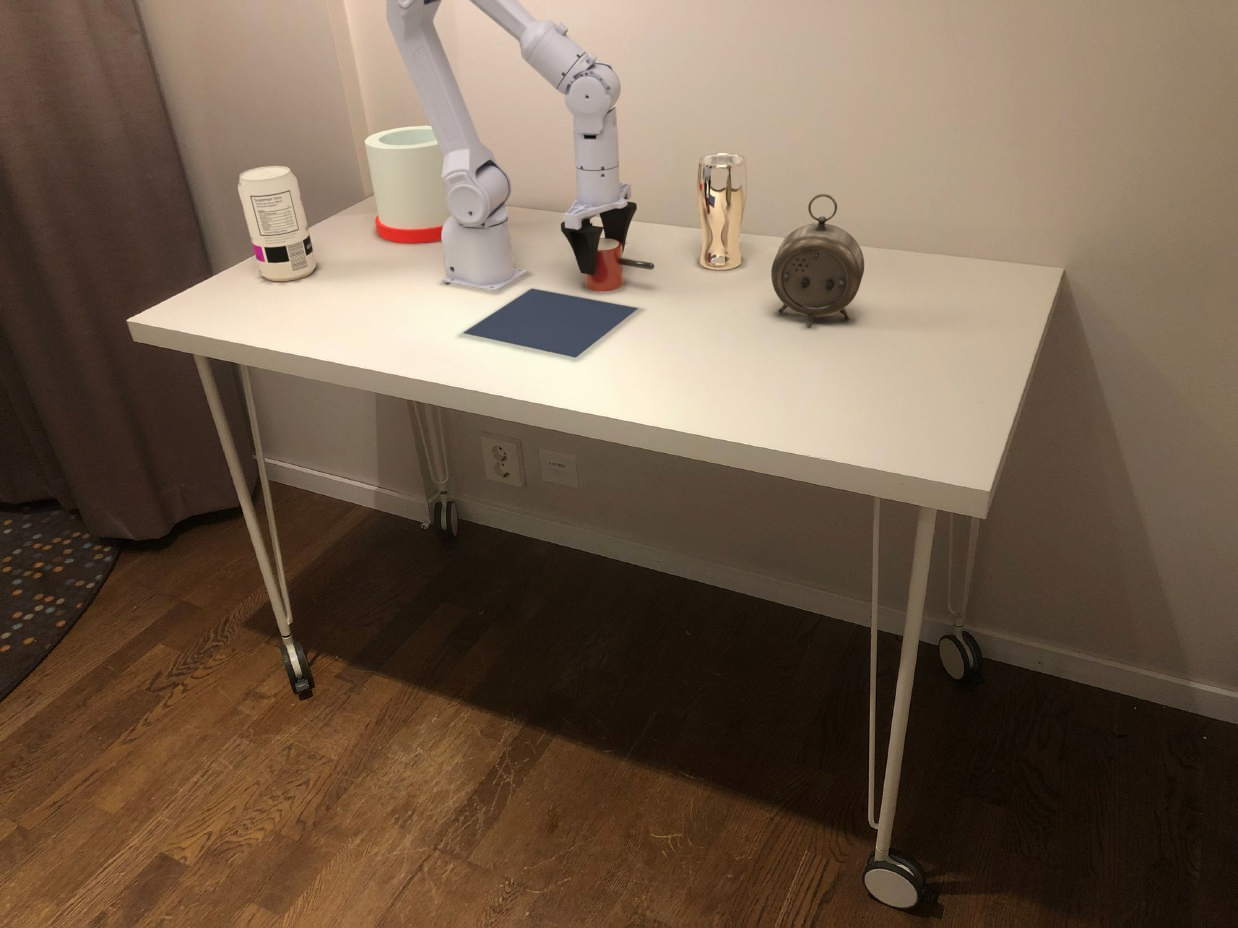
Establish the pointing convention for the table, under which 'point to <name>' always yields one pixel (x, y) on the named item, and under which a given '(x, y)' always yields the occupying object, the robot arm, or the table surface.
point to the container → (408, 184)
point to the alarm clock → (818, 269)
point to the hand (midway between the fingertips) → (601, 264)
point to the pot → (611, 266)
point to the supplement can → (276, 223)
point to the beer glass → (721, 208)
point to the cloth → (552, 322)
